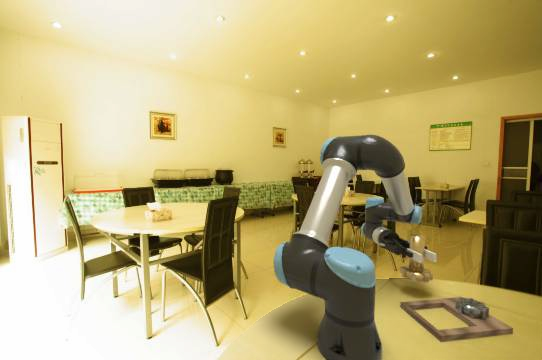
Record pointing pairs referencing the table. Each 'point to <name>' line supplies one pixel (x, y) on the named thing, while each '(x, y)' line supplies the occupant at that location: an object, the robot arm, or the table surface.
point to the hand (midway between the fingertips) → (428, 258)
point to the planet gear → (415, 268)
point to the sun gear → (472, 308)
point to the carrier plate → (477, 325)
